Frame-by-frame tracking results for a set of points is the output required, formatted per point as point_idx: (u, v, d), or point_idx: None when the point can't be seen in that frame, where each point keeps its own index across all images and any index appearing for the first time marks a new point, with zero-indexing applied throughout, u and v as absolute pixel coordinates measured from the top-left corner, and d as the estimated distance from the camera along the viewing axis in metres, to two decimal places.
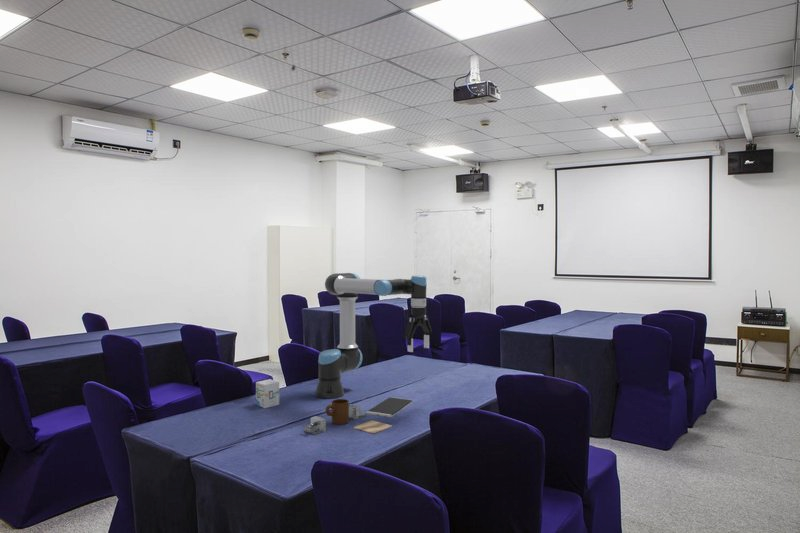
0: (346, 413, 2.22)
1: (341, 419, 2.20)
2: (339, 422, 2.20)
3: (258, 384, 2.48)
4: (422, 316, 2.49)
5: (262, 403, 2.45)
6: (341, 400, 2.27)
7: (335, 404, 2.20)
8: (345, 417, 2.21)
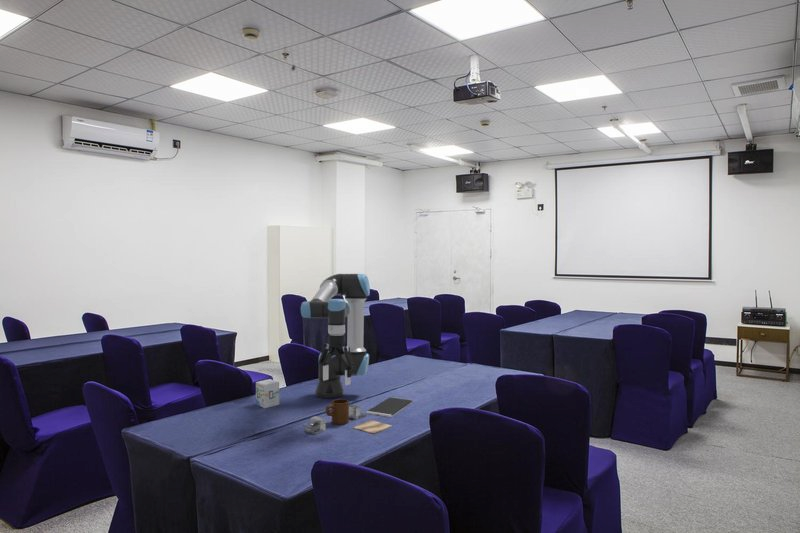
0: (346, 413, 2.22)
1: (341, 419, 2.20)
2: (339, 422, 2.20)
3: (258, 384, 2.48)
4: (337, 345, 2.20)
5: (262, 403, 2.45)
6: (341, 400, 2.27)
7: (335, 404, 2.20)
8: (345, 417, 2.21)
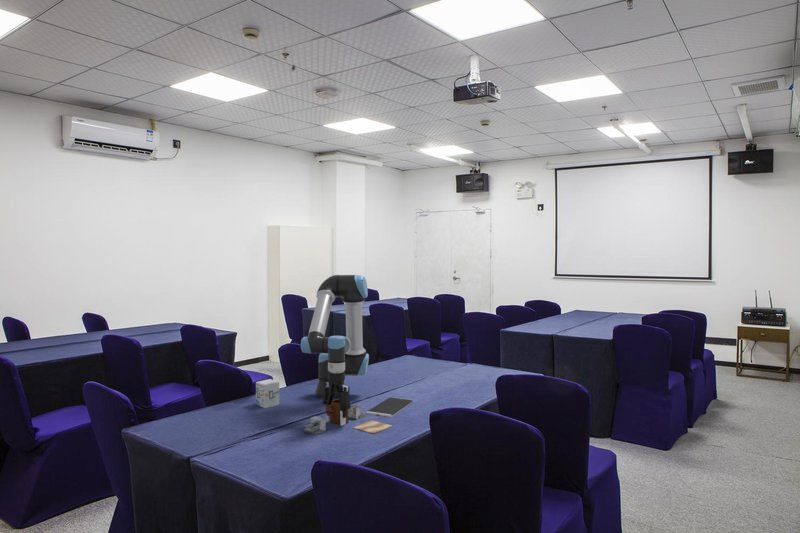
0: None
1: None
2: (339, 422, 2.20)
3: (258, 384, 2.48)
4: (337, 383, 2.20)
5: (262, 403, 2.45)
6: None
7: (335, 404, 2.21)
8: None
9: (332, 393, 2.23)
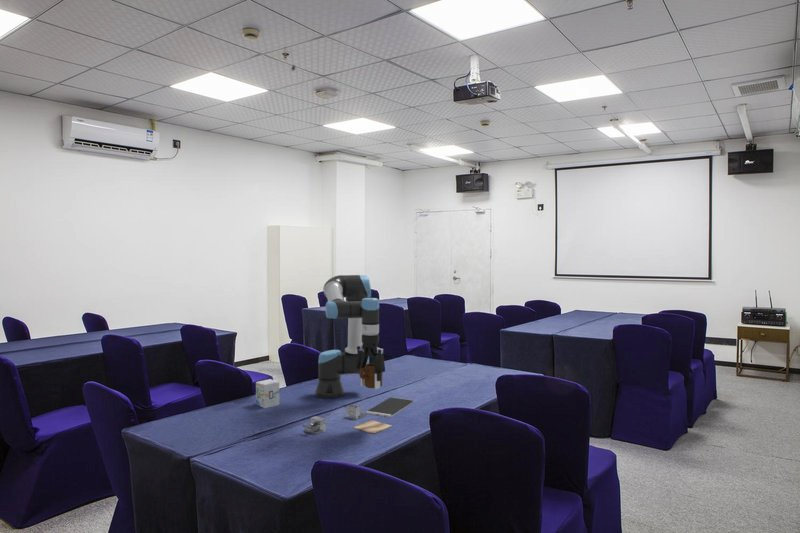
0: None
1: (374, 383, 2.15)
2: (373, 386, 2.15)
3: (258, 384, 2.48)
4: (371, 345, 2.15)
5: (262, 403, 2.45)
6: None
7: (369, 367, 2.15)
8: None
9: (366, 356, 2.18)
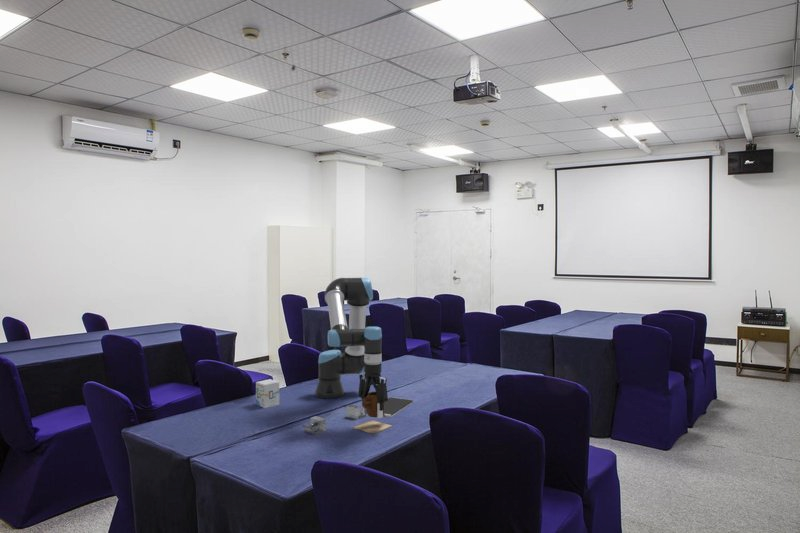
0: None
1: None
2: (375, 415, 2.15)
3: (258, 384, 2.48)
4: (374, 375, 2.15)
5: (262, 403, 2.45)
6: None
7: (371, 396, 2.15)
8: None
9: (368, 385, 2.18)
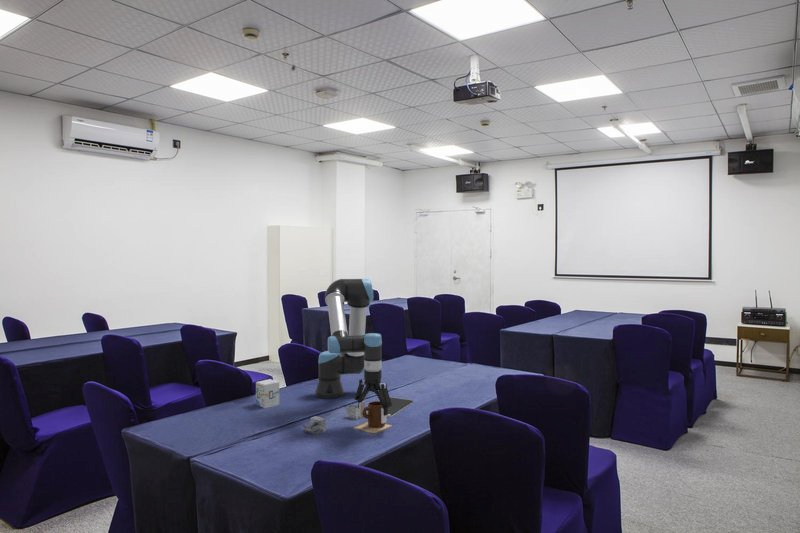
0: None
1: (378, 422, 2.15)
2: (376, 425, 2.15)
3: (258, 384, 2.48)
4: (374, 382, 2.15)
5: (262, 403, 2.45)
6: (377, 402, 2.22)
7: (372, 406, 2.15)
8: None
9: (367, 391, 2.18)
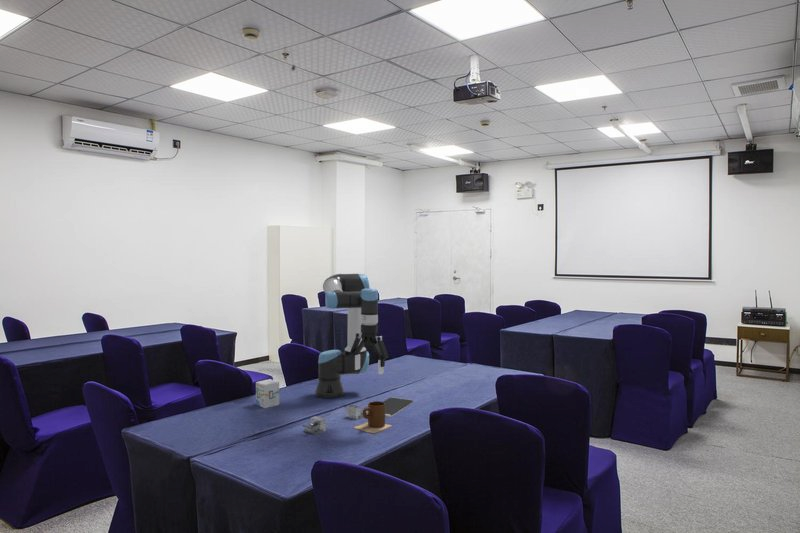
0: (383, 416, 2.16)
1: (378, 422, 2.15)
2: (376, 425, 2.15)
3: (258, 384, 2.48)
4: (370, 335, 2.19)
5: (262, 403, 2.45)
6: (377, 402, 2.22)
7: (372, 406, 2.15)
8: (382, 420, 2.16)
9: (363, 344, 2.23)
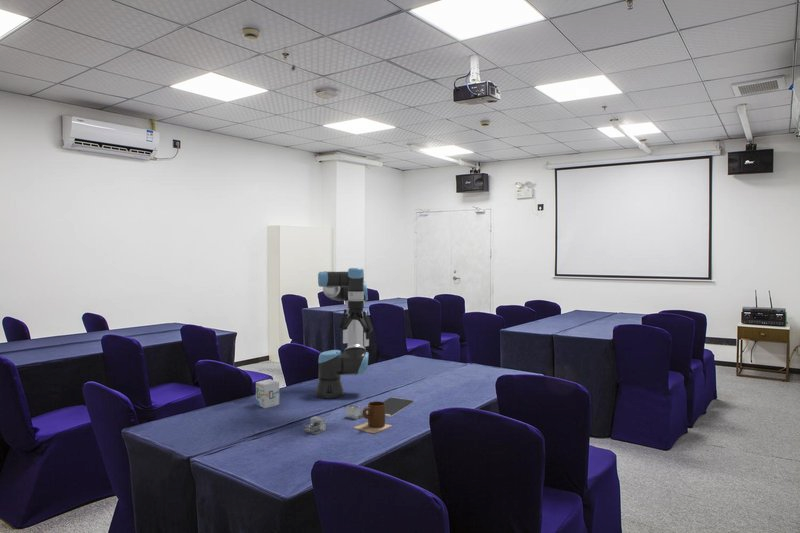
0: (383, 416, 2.16)
1: (378, 422, 2.15)
2: (376, 425, 2.15)
3: (258, 384, 2.48)
4: (356, 310, 2.38)
5: (262, 403, 2.45)
6: (377, 402, 2.22)
7: (372, 406, 2.15)
8: (382, 420, 2.16)
9: (350, 319, 2.42)
